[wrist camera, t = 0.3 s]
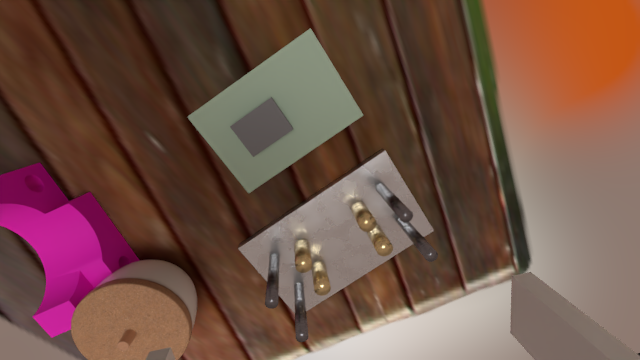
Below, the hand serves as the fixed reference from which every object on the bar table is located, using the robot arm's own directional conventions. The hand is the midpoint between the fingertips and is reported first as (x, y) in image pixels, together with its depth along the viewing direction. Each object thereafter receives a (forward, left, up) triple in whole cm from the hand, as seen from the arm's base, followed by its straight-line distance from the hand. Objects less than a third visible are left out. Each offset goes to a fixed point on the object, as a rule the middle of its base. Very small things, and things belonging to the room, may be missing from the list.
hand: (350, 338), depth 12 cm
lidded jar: (+1, -22, -25) cm, 33 cm away
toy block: (-9, -24, -25) cm, 36 cm away
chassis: (+9, -2, -24) cm, 26 cm away
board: (-7, +1, -20) cm, 21 cm away
